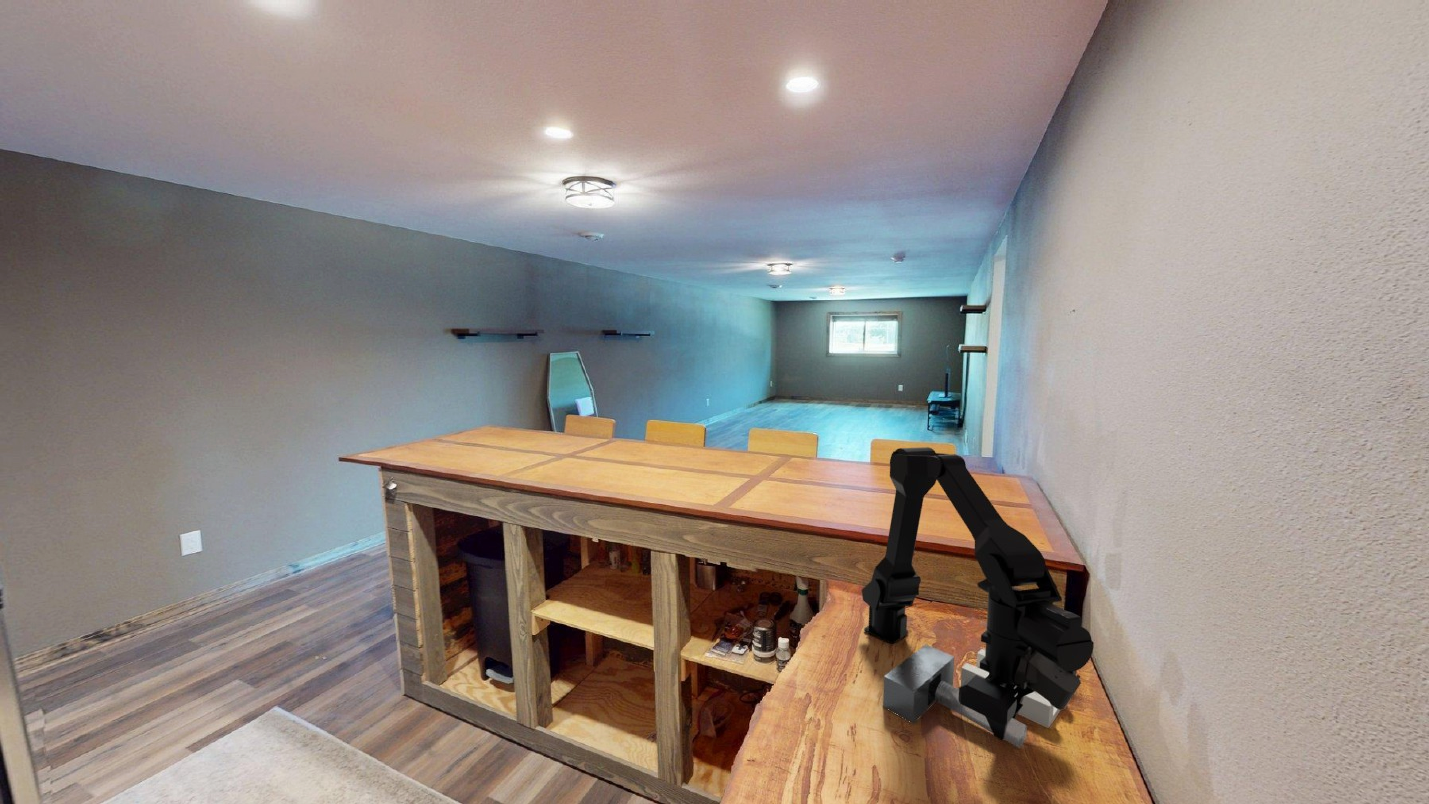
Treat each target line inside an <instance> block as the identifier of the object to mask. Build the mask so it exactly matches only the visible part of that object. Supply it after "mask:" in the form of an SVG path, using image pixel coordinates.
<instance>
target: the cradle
mask: <svg viewBox="0 0 1429 804" xmlns="http://www.w3.org/2000/svg"><path fill="white" fill-rule="evenodd" d="M976 654H977V655H976V666H975V665H973V664H970V663H969V662H966V663H964V665H963V666H962V667H961V674H960V686H961V685H962V684H963V683H964V682H966V681H967V680H968V679H969V678H970V677H973V676H975V675H977V676H980V677H982V678H984V679H985V678H986V677H987V676H988V675H989V672H987V671H985V670H982V669H980V661H981V660H982V659H983V658H984V657H985V649H984V648H981V649H980V650H979V651H978V652H977V653H976ZM1021 704H1023V706H1022V708H1021V709H1020V710H1019V711H1018V714H1017V715H1019V716H1021V717H1023V718H1026V719H1027V720H1029V721H1032V722H1034V723H1036V724H1038V725H1040V726H1043V727H1045V728H1047V729H1050V728H1051V725H1052V724H1053V722H1054V721H1055V720H1056V718H1057V717H1058V715H1059V714H1060V712H1061V710H1059V709H1057V708H1055V707H1054V706H1052V705H1051V704H1050V702H1049V701H1048V700H1046V699H1045V698H1044V697H1042V696H1041V695H1040V694H1038V693H1037V692H1036V691H1034V692H1033V693H1030V694H1028V695H1026V696H1024V698H1023V701H1022V703H1021Z"/></svg>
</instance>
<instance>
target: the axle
mask: <svg viewBox="0 0 1429 804" xmlns="http://www.w3.org/2000/svg"><path fill="white" fill-rule="evenodd" d="M958 699H959V688H957V687H955V686H954V685H953V686H951V685H950V684H948V683H946V682H944V681H941V682H940V684H939V685H938V687H937V690H936V694H935V700H936V702H937V703H939V704H941V705H942V706H945V707H946V708H948V709H950V710H951V711H953V712H955V713H956V714H958V715H960V716H962V717H964V718H966V719H967V720H969V721H971V722H972V723H974V724H976V725H977V726H980V727H981V728H983V729H985V730H986V731H988V732H990V733H992V734H993V732H992V730H991V728H990V726H989V723H988V721H987V719H986V717H985V716H984V715H982V714H980V713H978V712H976V711H974V710H972V709H970V708H968V707H966V706H964V705H962V704H960V702H959V700H958ZM1027 732H1028V726H1027V724H1024V723H1023V722H1021V721H1019V720H1017V719H1013V718H1011V720H1010V721H1009V722H1008V725H1007V729H1006V732H1005V736H1004V739H1003V740H1004V741H1006V742H1007V743H1009V744H1012V745H1013V746H1014V747H1017V748H1018V749H1021V748H1022V747H1023V745H1024V743H1025V740H1026V738H1027V734H1028V733H1027Z"/></svg>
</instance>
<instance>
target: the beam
mask: <svg viewBox="0 0 1429 804" xmlns="http://www.w3.org/2000/svg"><path fill="white" fill-rule="evenodd" d="M954 667H955V656H953V655H952V654H949V653H947V652H944V651H942V650H940V649H938V648H936V647H933V646H931V645H928V644H924V645H922V647H920V648H919V649H918V650H916V651H915V652H914V653H912V655H910V656H909V657H908V658H906V659H905V660H903V661H902V662H901V663H900V664H898V665H897V666H896V667H894V668H893V669H891V670H890V671H889V672H887V673H886V674H885V675H884V676H883V697H882V698H883V699H882V707H883V708H884V707H885V708H886V709H885V708H884V709H885V710H887V709H889V710H890V711H889V710H888V711H889V712H891V711H892V712H894V713H896V714H898V715H899V716H898V715H897V716H898V717H900V716H901V717H903V718H904V719H903V718H902V719H903V720H905V719H906V720H905V721H907V722H908V721H910V722H909V723H910V724H912V725H913V724H915V722H917V720H919V719H920V718H921V717H922V716H923V715H924V714H925V713H926V712H927V711H928V710H929V709H930V708H931V707H932V706H933V705H934V704H935V703H936V702H937V701H936V700H935V694H936V690H937V687H938V685H939V684H940V682H941V681H944V682H946V683H948V684H950V685H951V686H953V687H954V674H955V673H954V671H955V668H954ZM935 701H936V702H935ZM934 702H935V703H934ZM933 703H934V704H933ZM932 704H933V705H932ZM931 705H932V706H931ZM930 706H931V707H930ZM929 707H930V708H929ZM928 708H929V709H928ZM927 709H928V710H927ZM892 712H891V713H892ZM894 713H893V714H894ZM923 713H924V714H923ZM896 714H895V715H896ZM922 714H923V715H922ZM921 715H922V716H921ZM920 716H921V717H920ZM901 717H900V718H901ZM919 717H920V718H919ZM918 718H919V719H918Z"/></svg>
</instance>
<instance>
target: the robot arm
mask: <svg viewBox="0 0 1429 804" xmlns="http://www.w3.org/2000/svg"><path fill="white" fill-rule="evenodd" d="M889 477H890V480H891V482H892V484H893V486H894V488H895V495H894V501H893V506H892V513H891V520H890V525H889V532H888V538H887V542H886V549H885V554H884V557H883V558H882V559H881V560H880V562H879V563H878V564H876V566H875V567H874V570H873V573H872V577H871V580H870V582H868V583H867V584H865V586H864V587H863V588H861V595H862V596H861V597H862V601H864V603H865V604H867V605H868V625H867V626H866V627H864V629H863V631H864V632H865V633H867V634H869V635H871V636H874V637H876V638H879V640H883V641H885V642H887V643H889V644H890V645H891V644H895V643H897V641H900V640H901V639H902V638H904V637H905V636H907V635H908V634H909V630H908V629H907V628H908V615H907V614H906V607H912V606H913V605H914V602H915V599H916V597H917V596H919V595H920V584H921V581H922V579H921V576H919V575H918V574H917V571H916V570H915V568H914V566H913V559H914V552H915V547H916V542H917V537H918V532H919V531H918V530H919V525H920V520H921V514H922V509H923V503H924V499H925V496H926V495H927V494H928V493H929V492H930V490H931V489H932V488H933V487H934V486H935V485H936V483H937V482H938V484H939V485H940V488H941V489H942V490H943V491H944V493H945V495H946V497H947V498H948V499H949V501H950V503H951V505H952V506H953V508H954V509H955V511H956V512H957V514H958V515H959V517H960V519H962V521H963V523H964V525H965V526H966V528H967V529H968V531H969V532H970V534H971V536H972V538H973V540H974V552H973V553H974V556H975V559H976V560H977V562H978V565H979V567H980V569H981V571H982V574H983V575H984V577H985V578H984V579H983V580H981V581H978V582H977V587H978V588H979V589H980V590H982V591H985V592H986V593H987V615H986V630H984V631H983V633H981V635H980V641H981V642H982V643H984V644H985V649H984V650H985V657H984V658H983V659H982V660H981V661H980V669H982V670H985V671H987V672H989V675H988V676H987V677H986V678H985V679H984V678H982V677H980V676H977V675H975V676H973V677H970V678H969V679H968V680H967V681H966V682H964V683H963V684H962V685H961V684H960V686H959V687H958V689H959V699H958V700H959V702H960V704H962V705H964V706H966V707H968V708H970V709H972V710H974V711H976V712H978V713H980V714H982V715H984V716H985V717H986V719H987V721H988V723H989V726H990V728H991V730H992V732H993V733H992V732H991V733H992V734H993V737H995V738H996V739H997V740H998V741H999V740H1000V741H1003V740H1004V736H1005V732H1006V729H1007V725H1008V722H1009V721H1010V720H1011V718H1013V719H1015V720H1017V716H1018V715H1019V714H1018V711H1019V710H1020V709H1021V708H1022V706H1023V704H1021V703H1022V701H1023V698H1024V696H1026V695H1028V694H1030V693H1033V692H1034V691H1036V692H1037V693H1038V694H1040V695H1041V696H1042V697H1044V698H1045V699H1046V700H1048V701H1049V702H1050V704H1051V705H1052V706H1054V707H1055V708H1057V709H1059V710H1060V711H1063V710H1065V709H1066V707H1067V706H1068V705H1069V703H1070V701H1071V700H1072V699H1073V697H1074V695H1075V693H1076V692H1077V690H1079V687H1080V685H1081V684H1082V683H1081V680H1080V679H1081V677H1082V676H1081V675H1080V674H1077V671H1079V670H1081V669H1082V668H1084V667H1085V666H1086V665H1087V664H1088V663H1089V661H1090V659H1091V657H1092V655H1093V652H1094V645H1095V644H1094V640H1093V639H1092V635H1091V634H1090V632H1089V631H1088V630H1087V629H1086V628H1084V627H1083V626H1082V622H1083V621H1082V620H1083V619H1082V617H1081V616H1080V615H1078V614H1076V613H1074V612H1071V611H1067V610H1065V609H1063V608H1061V607H1059V606H1057V605H1056V604H1054V603H1060V602H1062V599H1063V598H1062V596H1061V594H1060V592H1059V590H1058V586H1057V584H1056V583H1055V581H1054V579H1053V577H1052V574H1051V573H1050V571H1049V569H1048V567H1047V564H1046V560H1045V557H1044V555H1043V554H1042V552H1041V551H1040V550H1039V549H1038V547H1037V546H1036V545H1034V543H1033V542H1031V540H1030V539H1029V538H1028V537H1027V536H1026V535H1025V534H1024V533H1022V532H1020V531H1019V530H1017V529H1015V528H1014V527H1012V526H1010V525H1009V524H1007V522H1006V521H1005V520H1004V519H1003V518H1002V516H1001V515H1000V514H999V512H998V511H997V509H996V508H995V506H994V505H993V503H992V501H990V500H989V497H988V496H987V495H986V494H985V492H984V491H983V490H982V488H981V487H980V485H979V484H978V482H977V481H976V479H975V478H974V477H973V475H972V474H971V472H970V471H969V469H968V468H967V465H966V461H965V459H964V458H963V457H962V456H961V455H958V454H953V453H952V454H949V453H942V452H941V453H940V452H939V453H938V452H936V451H935V449H933V448H932V447H929V446H926V447H925V446H923V447H921V446H920V447H900V448H897V449H895V450H894V451H892V453H891V455H890V460H889ZM1029 585H1036V586H1037V587H1036V588H1028V589H1019V588H1017V587H1023V586H1029Z"/></svg>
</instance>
